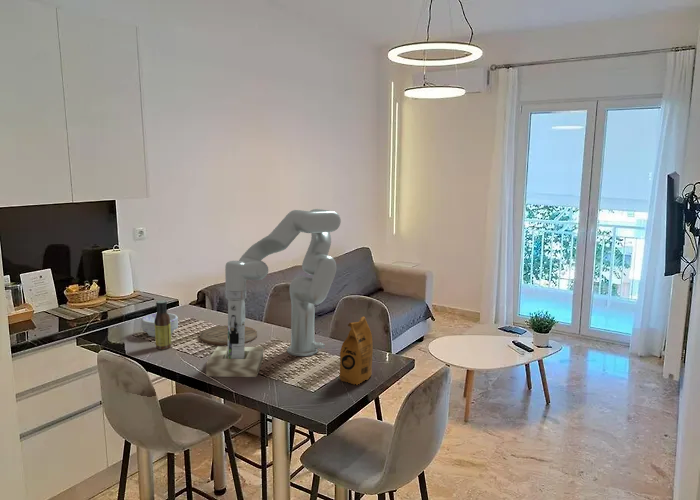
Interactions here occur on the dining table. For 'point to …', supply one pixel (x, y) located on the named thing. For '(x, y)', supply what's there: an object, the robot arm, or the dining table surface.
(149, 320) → the paper bowls
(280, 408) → the dining table surface
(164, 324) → the sauce bottle
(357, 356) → the coffee package
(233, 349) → the syrup box
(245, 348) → the socket block
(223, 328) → the trivet
